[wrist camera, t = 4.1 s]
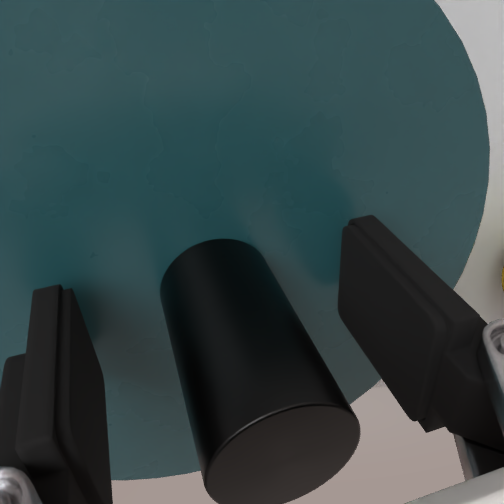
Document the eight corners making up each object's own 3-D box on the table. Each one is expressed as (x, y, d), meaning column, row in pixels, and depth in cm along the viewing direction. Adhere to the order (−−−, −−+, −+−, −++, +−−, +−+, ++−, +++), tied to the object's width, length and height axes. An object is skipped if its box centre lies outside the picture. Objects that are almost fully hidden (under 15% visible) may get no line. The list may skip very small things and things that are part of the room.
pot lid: (435, -263, 8) (954, -544, 3) (475, 315, 18) (623, 456, 13) (-426, 135, 8) (-1280, 483, 3) (97, 509, 17) (106, 732, 12)
